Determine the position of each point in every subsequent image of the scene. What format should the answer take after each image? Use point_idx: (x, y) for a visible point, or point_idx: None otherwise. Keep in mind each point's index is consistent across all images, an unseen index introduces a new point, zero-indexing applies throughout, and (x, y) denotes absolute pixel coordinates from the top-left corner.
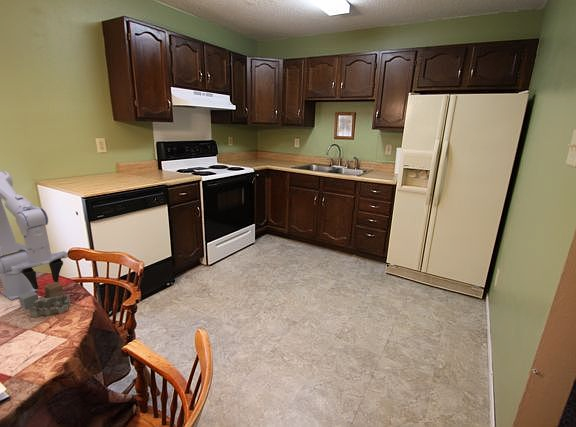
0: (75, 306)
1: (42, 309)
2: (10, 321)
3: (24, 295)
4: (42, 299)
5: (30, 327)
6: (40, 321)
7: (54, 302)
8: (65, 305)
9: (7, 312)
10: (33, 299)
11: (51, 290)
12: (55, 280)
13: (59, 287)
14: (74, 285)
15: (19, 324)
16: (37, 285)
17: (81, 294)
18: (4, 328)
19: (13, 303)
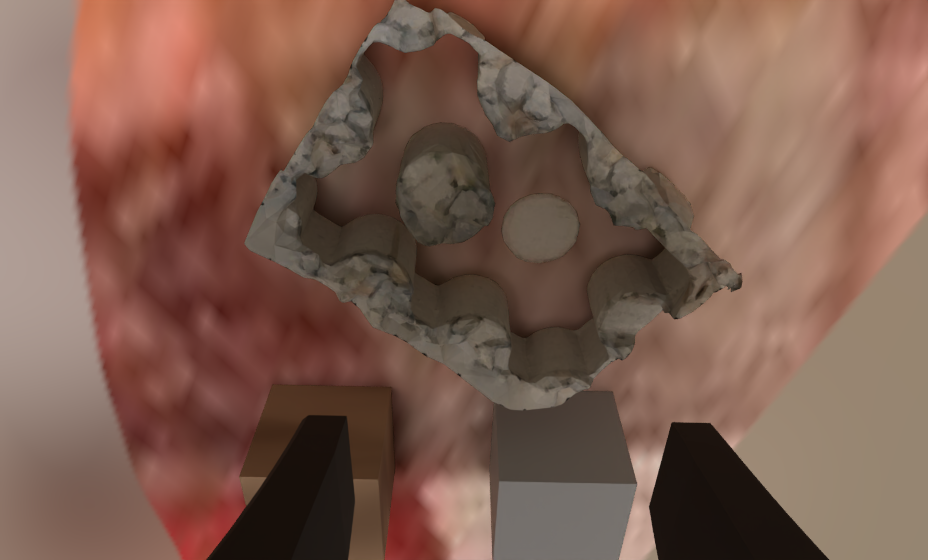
0: (278, 29)
1: (622, 174)
2: (802, 305)
3: (587, 535)
4: (499, 379)
5: (823, 13)
6: (691, 49)
7: (453, 217)
8: (394, 26)
9: None
10: (544, 445)
11: (362, 461)
12: (340, 458)
13: (277, 459)
14: (140, 455)
15: (814, 184)
16: (714, 478)
17: (132, 247)
18: (911, 230)
19: None
